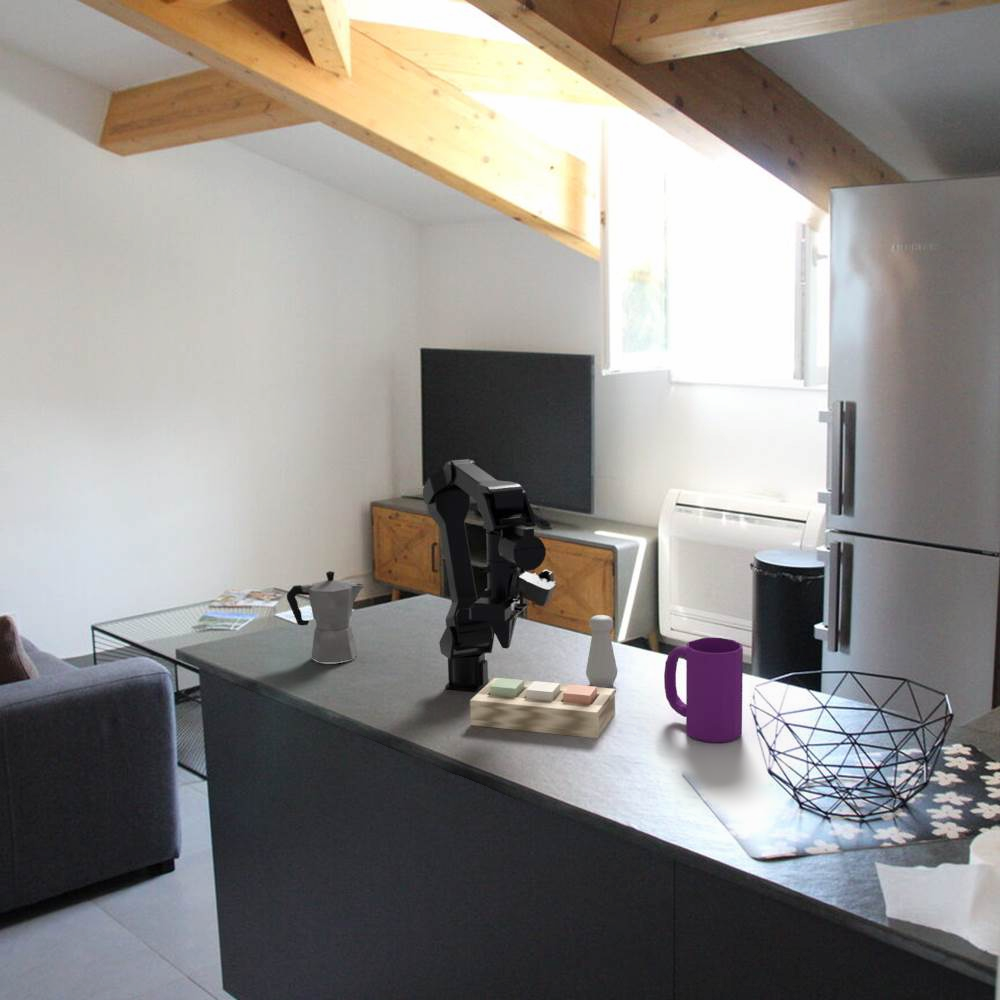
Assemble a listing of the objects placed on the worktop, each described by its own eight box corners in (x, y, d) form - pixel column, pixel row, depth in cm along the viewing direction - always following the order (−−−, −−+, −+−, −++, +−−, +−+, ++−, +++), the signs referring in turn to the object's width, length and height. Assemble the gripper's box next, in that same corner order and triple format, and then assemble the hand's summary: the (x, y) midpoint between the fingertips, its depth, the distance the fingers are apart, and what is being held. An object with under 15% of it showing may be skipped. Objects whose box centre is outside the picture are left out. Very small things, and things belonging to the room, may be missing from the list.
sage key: (490, 705, 198) (489, 686, 197) (499, 696, 202) (498, 677, 201) (515, 707, 196) (515, 688, 195) (524, 698, 200) (523, 680, 200)
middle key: (526, 708, 195) (526, 689, 195) (534, 700, 200) (534, 681, 199) (552, 711, 194) (552, 692, 193) (560, 702, 198) (560, 683, 198)
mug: (715, 748, 182) (715, 657, 180) (646, 722, 195) (646, 635, 192) (754, 734, 188) (755, 645, 185) (685, 709, 200) (685, 625, 198)
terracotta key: (563, 712, 193) (563, 693, 193) (571, 703, 197) (570, 684, 197) (590, 715, 192) (589, 695, 191) (597, 705, 196) (597, 686, 195)
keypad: (470, 725, 195) (470, 700, 194) (494, 701, 206) (494, 677, 206) (597, 738, 188) (597, 712, 187) (615, 713, 199) (615, 688, 198)
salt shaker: (615, 690, 211) (615, 621, 208) (584, 689, 212) (583, 620, 210) (619, 680, 216) (618, 612, 214) (588, 679, 217) (587, 611, 215)
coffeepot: (364, 648, 240) (360, 564, 237) (369, 662, 231) (365, 574, 228) (289, 655, 237) (284, 569, 234) (291, 669, 228) (286, 580, 225)
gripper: (532, 574, 183) (534, 668, 186) (565, 549, 201) (566, 636, 203) (466, 570, 187) (469, 662, 190) (504, 546, 204) (506, 631, 207)
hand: (505, 647), depth 197 cm, fingers closed
